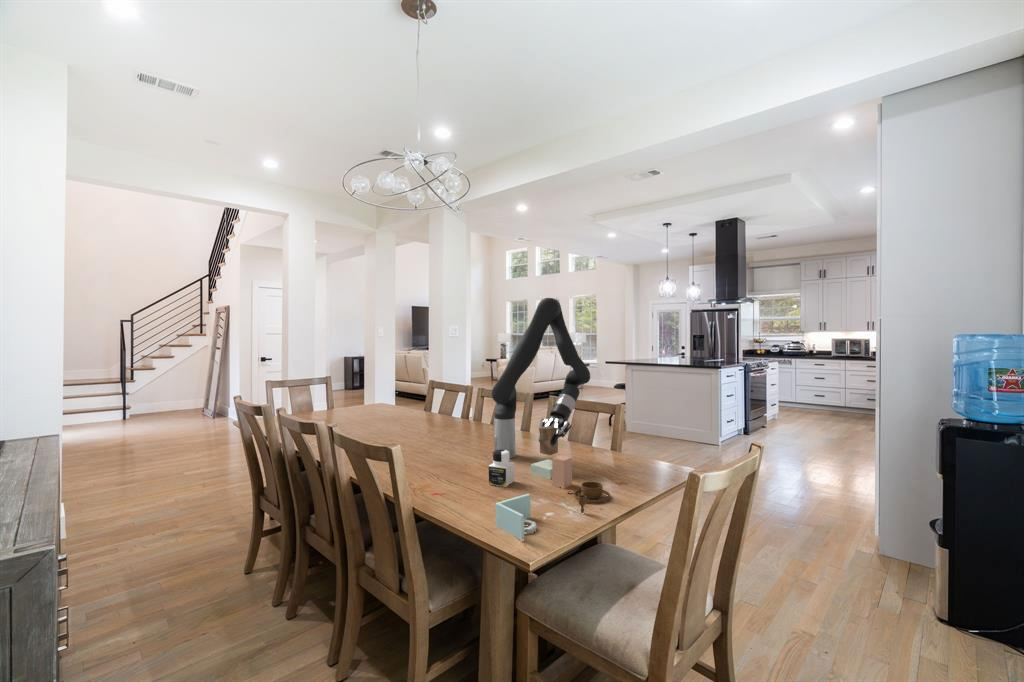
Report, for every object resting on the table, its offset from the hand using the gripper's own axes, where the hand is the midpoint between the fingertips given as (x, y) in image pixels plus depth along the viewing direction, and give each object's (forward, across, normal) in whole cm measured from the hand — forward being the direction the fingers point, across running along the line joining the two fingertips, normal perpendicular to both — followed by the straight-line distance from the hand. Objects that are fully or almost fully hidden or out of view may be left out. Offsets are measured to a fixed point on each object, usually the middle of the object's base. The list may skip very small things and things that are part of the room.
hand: (545, 443), depth 180 cm
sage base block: (+8, 0, +10) cm, 13 cm away
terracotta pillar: (+13, +12, +4) cm, 18 cm away
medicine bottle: (+22, -7, -4) cm, 23 cm away
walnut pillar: (+2, 0, +4) cm, 5 cm away
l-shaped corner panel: (+39, +25, -21) cm, 51 cm away
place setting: (+19, +26, 0) cm, 32 cm away
